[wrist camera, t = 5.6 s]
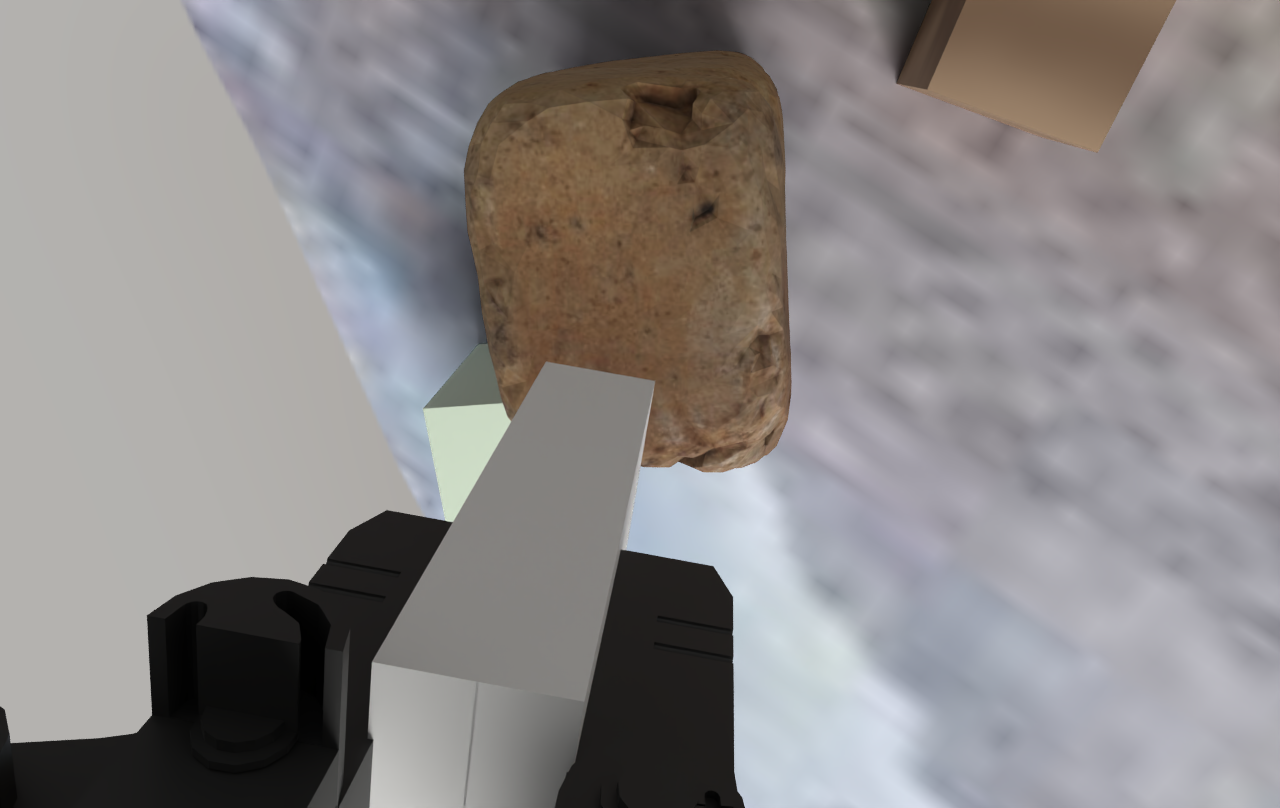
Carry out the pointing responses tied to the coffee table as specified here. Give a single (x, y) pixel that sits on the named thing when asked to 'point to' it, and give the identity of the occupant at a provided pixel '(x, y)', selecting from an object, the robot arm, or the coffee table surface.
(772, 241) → the pitted sandstone rock
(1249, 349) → the coffee table surface
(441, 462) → the green block
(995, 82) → the walnut block
